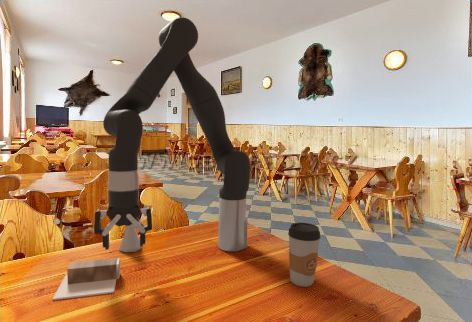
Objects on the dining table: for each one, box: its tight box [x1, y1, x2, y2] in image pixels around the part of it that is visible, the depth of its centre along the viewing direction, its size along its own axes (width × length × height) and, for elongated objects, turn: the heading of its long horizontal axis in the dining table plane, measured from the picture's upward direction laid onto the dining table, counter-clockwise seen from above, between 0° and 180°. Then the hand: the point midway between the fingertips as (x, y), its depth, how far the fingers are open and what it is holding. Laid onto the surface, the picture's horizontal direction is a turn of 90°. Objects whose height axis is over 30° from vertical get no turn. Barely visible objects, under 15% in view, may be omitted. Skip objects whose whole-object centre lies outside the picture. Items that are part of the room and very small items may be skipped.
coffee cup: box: [287, 222, 321, 288], centre depth 79 cm, size 8×8×15 cm
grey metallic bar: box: [66, 257, 121, 284], centre depth 78 cm, size 4×4×12 cm
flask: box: [118, 224, 142, 253], centre depth 98 cm, size 7×7×10 cm
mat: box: [52, 273, 118, 301], centre depth 77 cm, size 13×16×1 cm
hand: (124, 247), depth 79 cm, fingers open, 8 cm apart
